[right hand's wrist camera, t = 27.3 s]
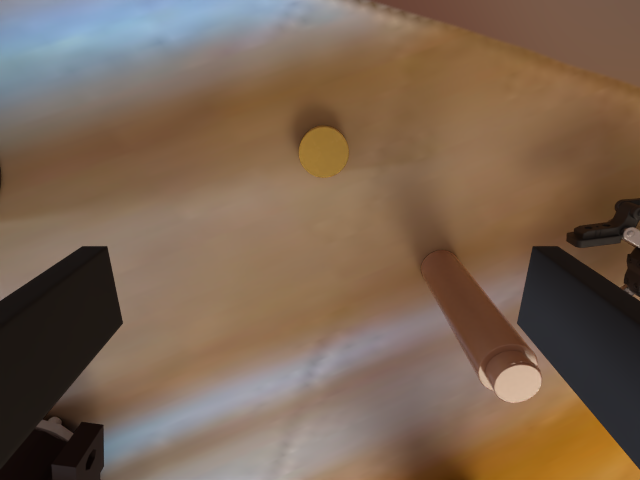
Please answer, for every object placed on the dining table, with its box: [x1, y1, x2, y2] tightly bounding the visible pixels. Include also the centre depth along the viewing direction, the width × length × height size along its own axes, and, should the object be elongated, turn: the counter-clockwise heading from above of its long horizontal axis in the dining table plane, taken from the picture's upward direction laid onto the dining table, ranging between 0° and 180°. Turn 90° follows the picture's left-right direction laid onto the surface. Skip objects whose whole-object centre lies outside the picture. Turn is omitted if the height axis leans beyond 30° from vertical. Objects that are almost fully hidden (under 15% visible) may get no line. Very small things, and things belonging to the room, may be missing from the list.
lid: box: [299, 125, 349, 178], centre depth 39 cm, size 5×5×2 cm
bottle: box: [421, 250, 542, 403], centre depth 36 cm, size 4×4×19 cm
